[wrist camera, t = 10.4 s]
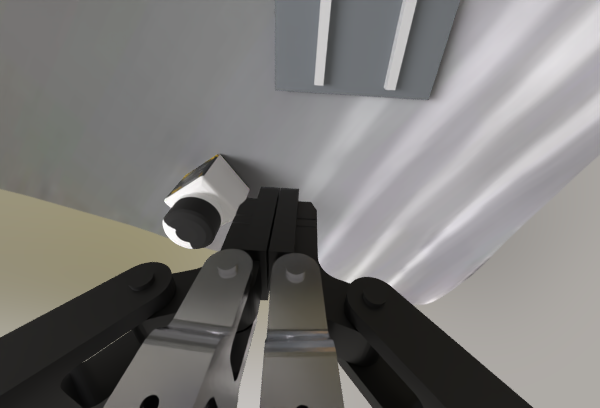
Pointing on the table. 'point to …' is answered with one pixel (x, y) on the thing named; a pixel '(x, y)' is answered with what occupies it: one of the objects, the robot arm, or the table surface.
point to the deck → (361, 46)
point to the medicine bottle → (203, 203)
